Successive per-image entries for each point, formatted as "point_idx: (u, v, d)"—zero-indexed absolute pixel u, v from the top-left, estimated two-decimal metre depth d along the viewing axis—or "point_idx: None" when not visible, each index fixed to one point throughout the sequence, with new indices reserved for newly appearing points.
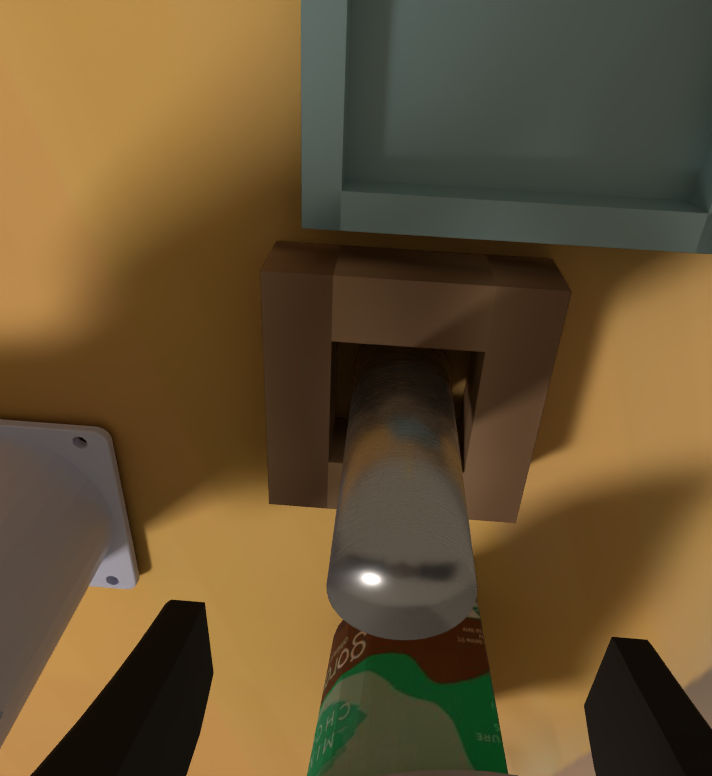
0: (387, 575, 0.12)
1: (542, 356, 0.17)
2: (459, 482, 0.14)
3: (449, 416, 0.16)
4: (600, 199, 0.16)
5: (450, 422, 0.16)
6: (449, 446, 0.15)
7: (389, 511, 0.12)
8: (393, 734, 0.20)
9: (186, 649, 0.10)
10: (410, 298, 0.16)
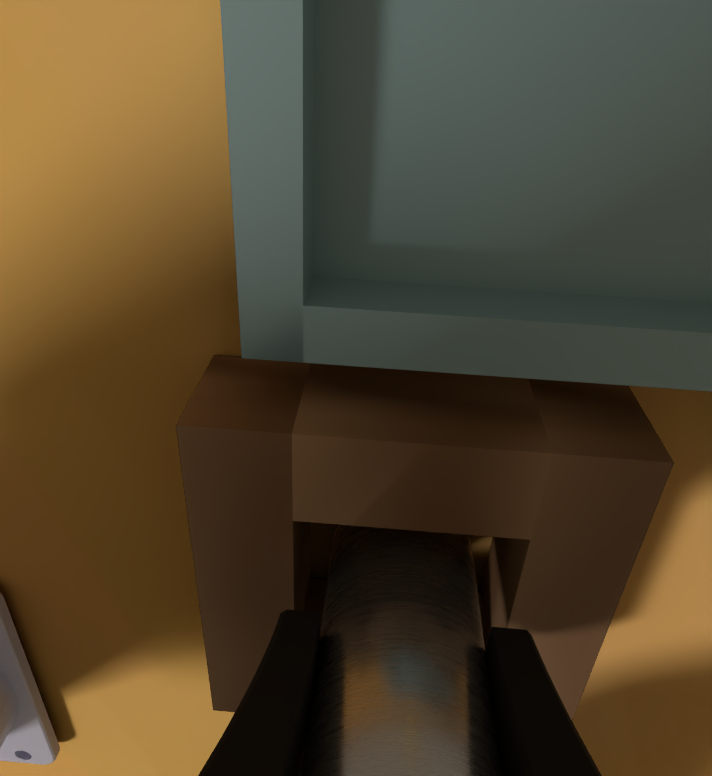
0: None
1: (619, 547, 0.11)
2: None
3: (476, 654, 0.10)
4: None
5: (478, 668, 0.10)
6: (480, 740, 0.09)
7: None
8: None
9: (313, 660, 0.10)
10: (414, 467, 0.10)
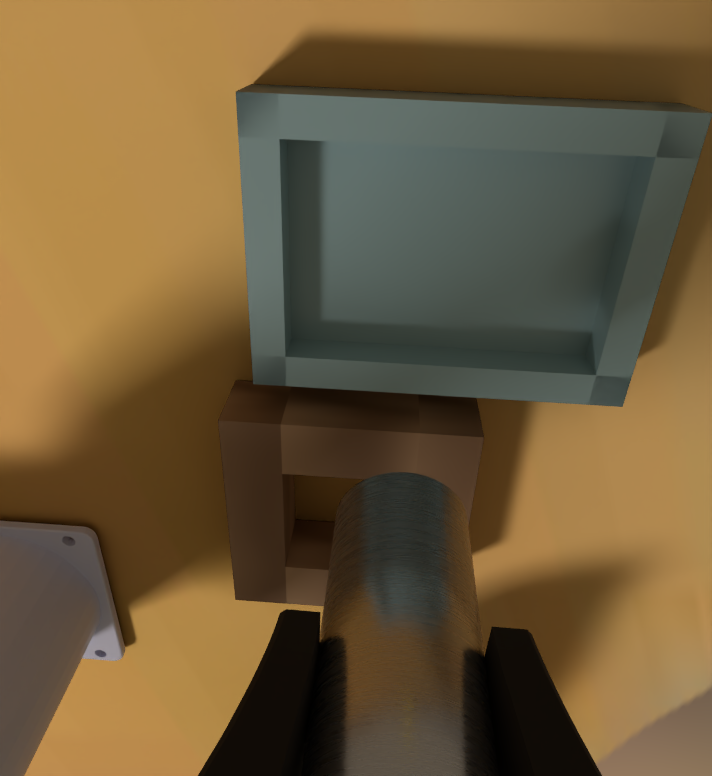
0: None
1: (463, 486, 0.19)
2: None
3: (475, 657, 0.10)
4: (507, 358, 0.19)
5: (477, 672, 0.10)
6: (480, 743, 0.09)
7: None
8: None
9: (312, 660, 0.10)
10: (347, 441, 0.19)
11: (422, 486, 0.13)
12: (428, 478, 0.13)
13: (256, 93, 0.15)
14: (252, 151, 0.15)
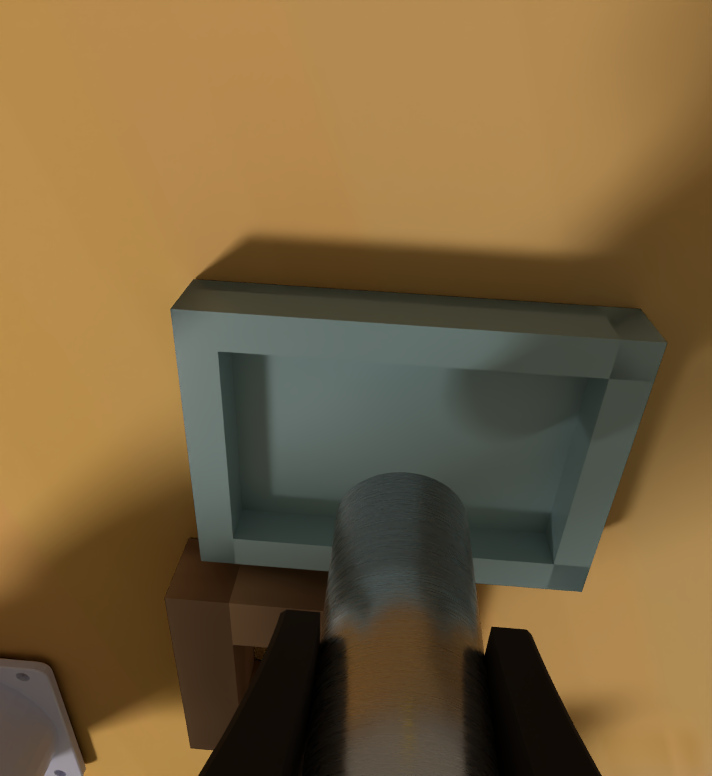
0: None
1: None
2: None
3: (476, 658, 0.10)
4: None
5: (478, 673, 0.10)
6: (480, 744, 0.09)
7: None
8: None
9: (312, 660, 0.10)
10: None
11: (423, 486, 0.13)
12: (429, 478, 0.13)
13: (192, 310, 0.14)
14: (190, 361, 0.15)
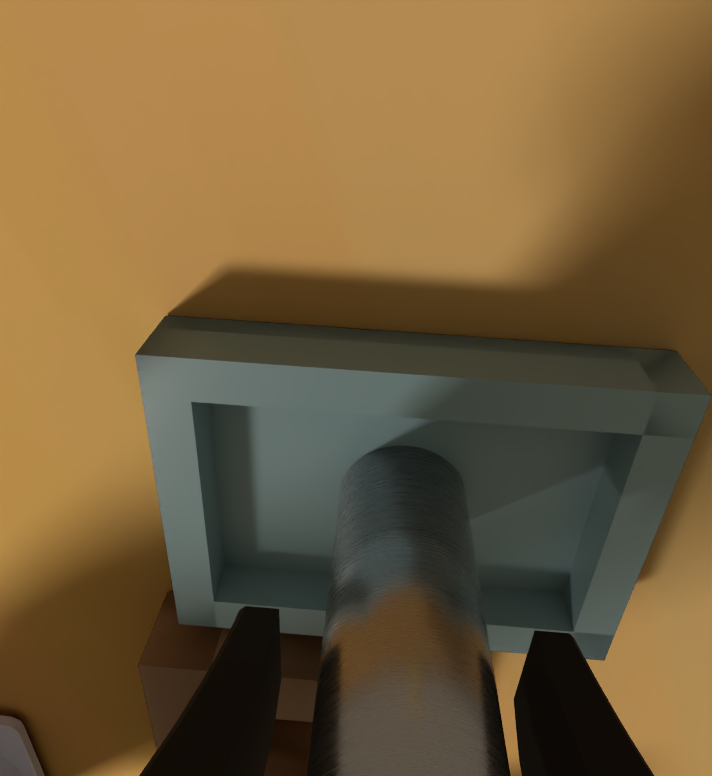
0: None
1: None
2: (501, 748, 0.09)
3: (476, 604, 0.11)
4: None
5: (478, 616, 0.11)
6: (482, 674, 0.10)
7: None
8: None
9: (268, 656, 0.10)
10: (287, 689, 0.16)
11: (423, 458, 0.14)
12: (428, 451, 0.14)
13: (160, 356, 0.12)
14: (159, 412, 0.13)
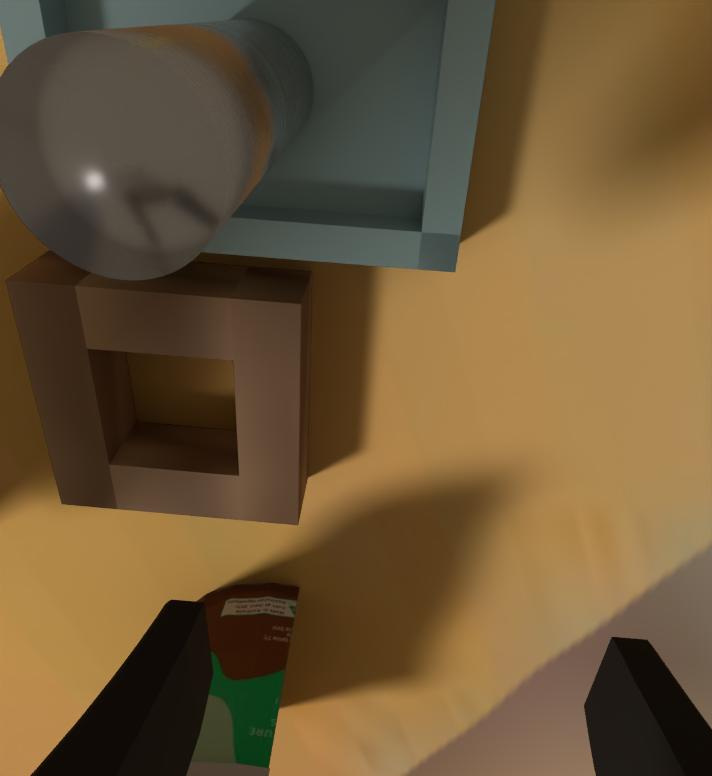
0: (78, 129, 0.08)
1: (287, 365, 0.17)
2: (248, 84, 0.10)
3: (272, 63, 0.12)
4: (330, 216, 0.17)
5: (270, 65, 0.11)
6: (250, 61, 0.10)
7: None
8: None
9: (186, 649, 0.10)
10: (152, 308, 0.17)
11: (264, 23, 0.14)
12: (272, 24, 0.15)
13: None
14: None
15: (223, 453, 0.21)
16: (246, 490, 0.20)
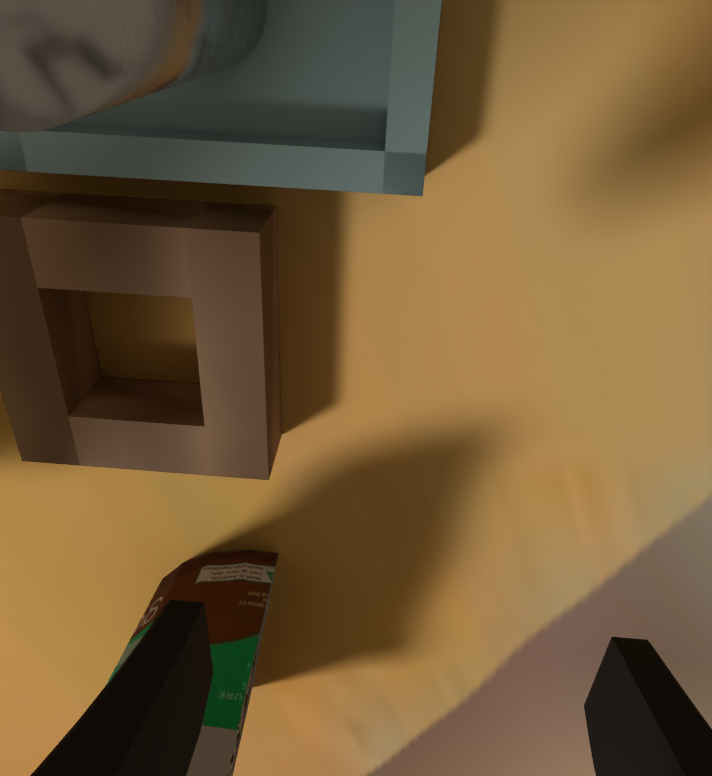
0: None
1: (248, 302, 0.17)
2: None
3: None
4: (289, 139, 0.16)
5: None
6: None
7: None
8: None
9: (186, 649, 0.10)
10: (102, 241, 0.16)
11: None
12: None
13: None
14: None
15: (190, 405, 0.20)
16: (212, 442, 0.19)
